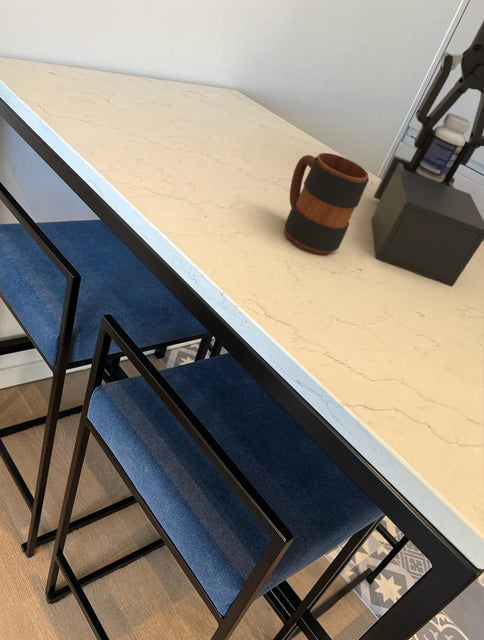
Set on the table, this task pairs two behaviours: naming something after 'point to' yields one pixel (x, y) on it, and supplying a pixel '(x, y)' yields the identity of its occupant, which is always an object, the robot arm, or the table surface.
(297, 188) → the mug
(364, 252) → the table surface
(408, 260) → the charcoal bevelled cube
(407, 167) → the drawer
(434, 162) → the pill bottle
